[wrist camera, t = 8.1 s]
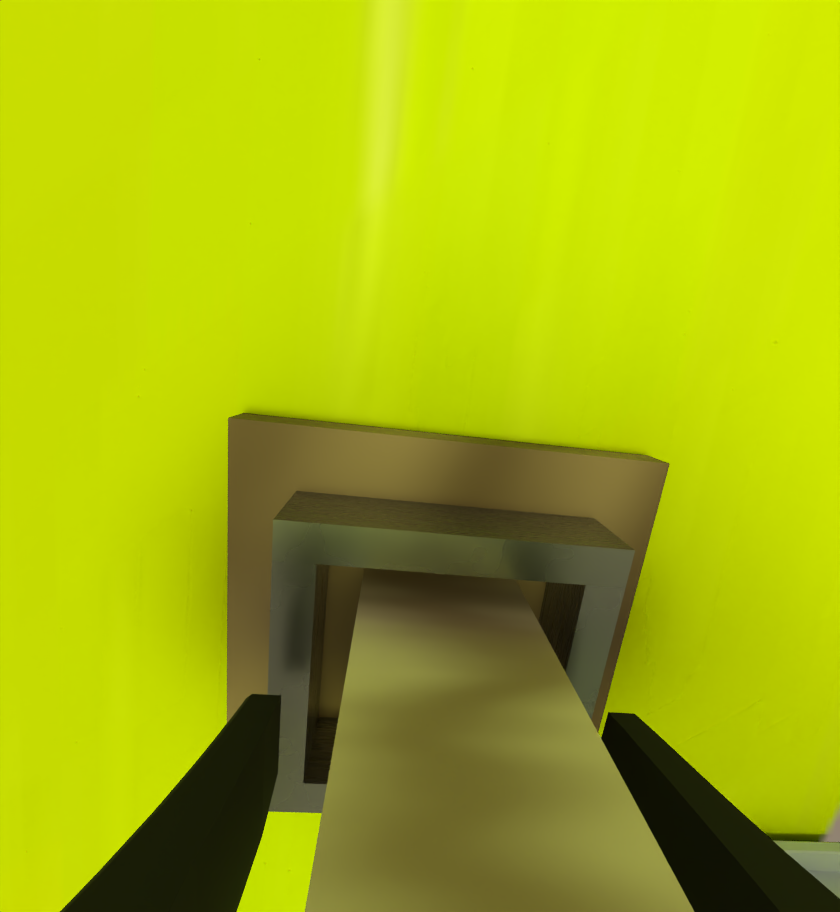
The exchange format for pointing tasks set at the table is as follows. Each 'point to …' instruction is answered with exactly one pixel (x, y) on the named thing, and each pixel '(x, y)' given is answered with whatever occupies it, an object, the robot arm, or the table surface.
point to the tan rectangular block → (473, 768)
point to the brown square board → (408, 479)
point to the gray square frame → (430, 551)
